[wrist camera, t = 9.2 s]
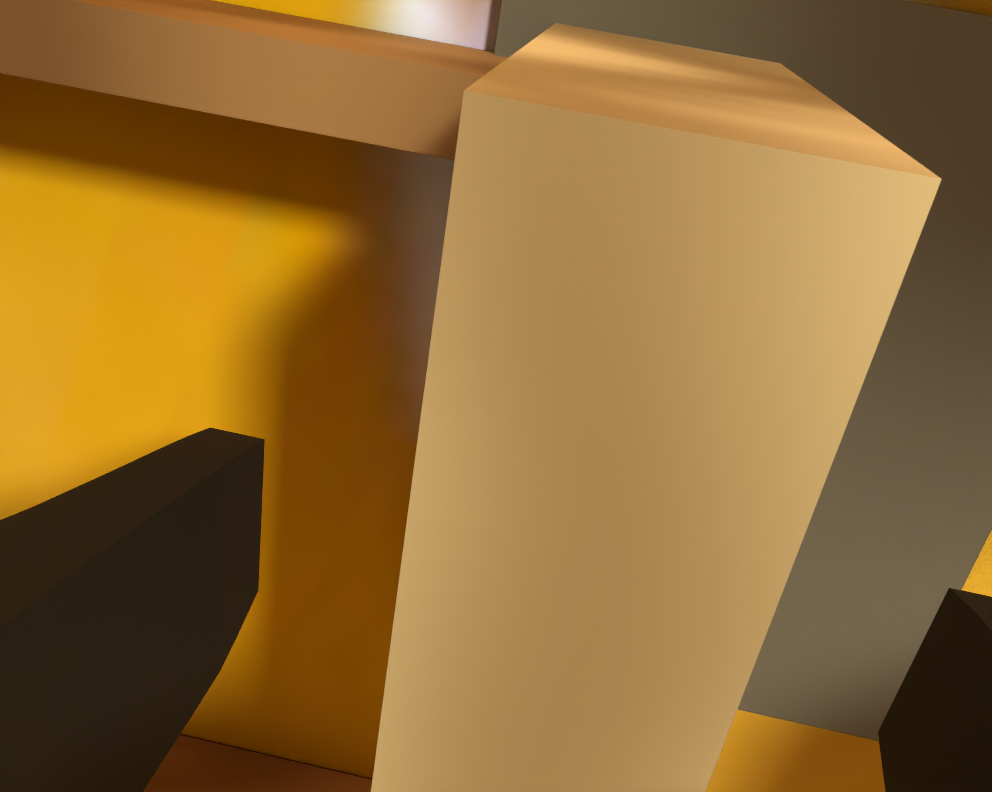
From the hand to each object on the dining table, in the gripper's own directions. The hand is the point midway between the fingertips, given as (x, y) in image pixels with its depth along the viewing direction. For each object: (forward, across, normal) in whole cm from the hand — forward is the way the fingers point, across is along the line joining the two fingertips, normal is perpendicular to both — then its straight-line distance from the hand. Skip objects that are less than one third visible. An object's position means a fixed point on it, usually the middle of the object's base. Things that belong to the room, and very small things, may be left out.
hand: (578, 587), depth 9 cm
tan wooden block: (+5, 0, 0) cm, 5 cm away
